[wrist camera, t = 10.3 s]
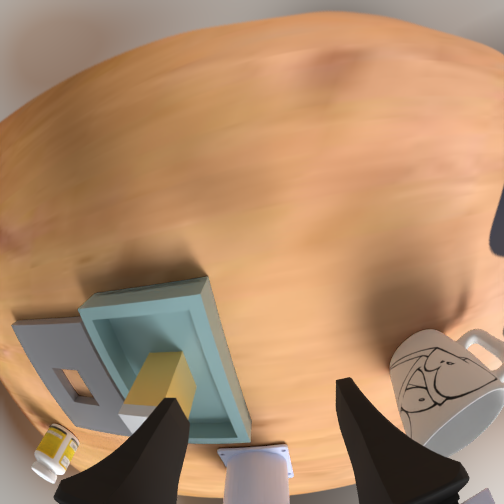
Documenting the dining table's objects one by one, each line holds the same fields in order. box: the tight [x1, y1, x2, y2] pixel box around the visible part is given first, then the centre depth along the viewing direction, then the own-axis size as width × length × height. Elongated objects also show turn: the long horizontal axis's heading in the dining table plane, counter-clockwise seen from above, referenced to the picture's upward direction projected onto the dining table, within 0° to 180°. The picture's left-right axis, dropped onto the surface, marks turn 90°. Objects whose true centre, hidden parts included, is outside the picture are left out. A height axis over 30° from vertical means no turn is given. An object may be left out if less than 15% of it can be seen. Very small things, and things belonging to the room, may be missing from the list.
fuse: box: [118, 351, 197, 434], centre depth 18 cm, size 4×3×7 cm
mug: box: [389, 329, 504, 457], centre depth 16 cm, size 11×8×10 cm
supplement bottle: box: [32, 424, 79, 484], centre depth 24 cm, size 5×5×10 cm
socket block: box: [11, 316, 132, 436], centre depth 23 cm, size 16×12×1 cm
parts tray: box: [78, 276, 252, 444], centre depth 21 cm, size 16×10×3 cm, turn 11°
